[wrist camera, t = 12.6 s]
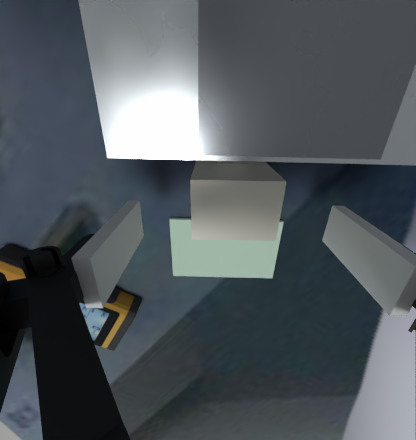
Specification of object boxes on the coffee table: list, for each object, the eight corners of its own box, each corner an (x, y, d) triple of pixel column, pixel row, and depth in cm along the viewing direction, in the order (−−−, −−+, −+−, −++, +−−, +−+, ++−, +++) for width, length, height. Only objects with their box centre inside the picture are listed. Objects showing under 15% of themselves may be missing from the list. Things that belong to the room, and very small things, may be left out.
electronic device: (10, 236, 23) (-20, 254, 20) (144, 293, 27) (136, 316, 23) (-1, 287, 26) (-28, 309, 23) (120, 333, 30) (110, 357, 27)
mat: (170, 217, 21) (169, 219, 21) (282, 220, 21) (283, 222, 21) (173, 273, 24) (173, 275, 24) (271, 275, 24) (272, 278, 24)
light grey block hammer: (196, -10, 14) (184, -109, 8) (281, -9, 14) (339, -107, 8) (197, 200, 20) (191, 239, 14) (255, 201, 20) (275, 241, 14)
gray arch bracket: (135, 69, 16) (-164, -97, 3) (335, 74, 16) (836, -76, 3) (141, 128, 18) (-34, 172, 5) (322, 133, 18) (606, 187, 5)
